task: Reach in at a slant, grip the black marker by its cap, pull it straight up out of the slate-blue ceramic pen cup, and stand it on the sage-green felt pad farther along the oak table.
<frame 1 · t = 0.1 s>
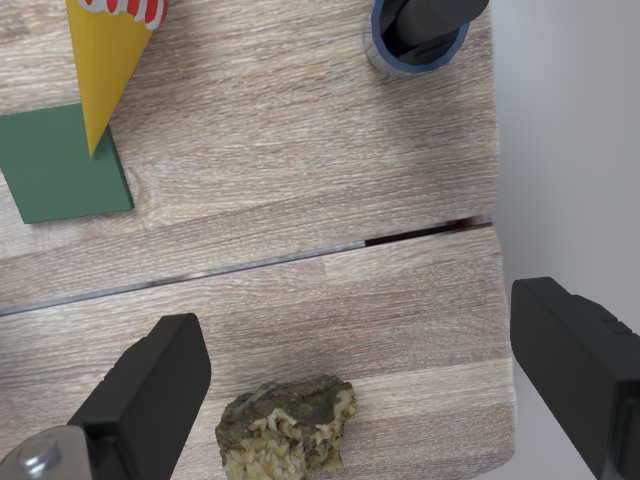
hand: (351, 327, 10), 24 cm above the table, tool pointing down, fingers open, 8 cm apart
mineral specimen: (294, 415, 42), on the table
pen cup: (401, 36, 29), on the table
marker: (402, 35, 29), point 1 cm above the table, touching pen cup
felt pad: (62, 164, 33), on the table
ice cream cone: (122, 38, 30), on the table, touching felt pad
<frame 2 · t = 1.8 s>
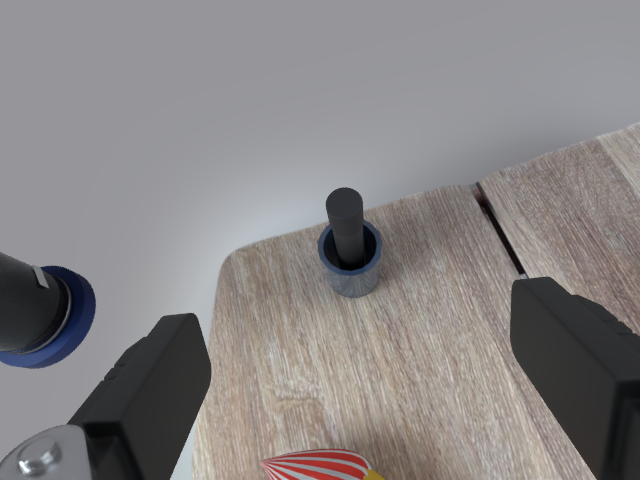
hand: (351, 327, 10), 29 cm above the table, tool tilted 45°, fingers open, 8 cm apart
pen cup: (353, 271, 41), on the table
marker: (353, 269, 40), point 1 cm above the table, touching pen cup
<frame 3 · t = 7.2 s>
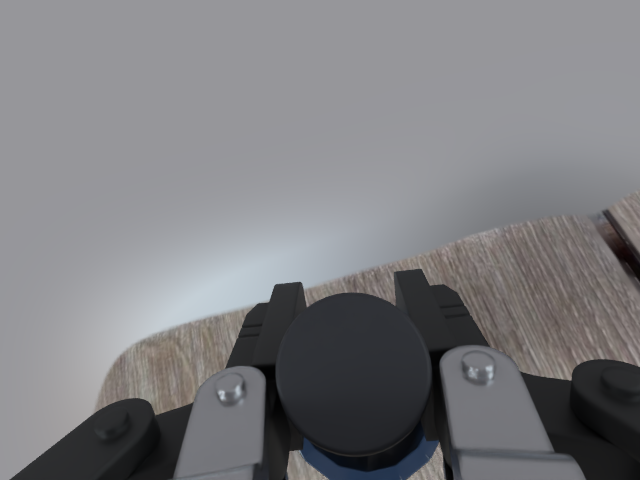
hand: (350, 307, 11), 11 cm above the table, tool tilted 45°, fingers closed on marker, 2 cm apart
pen cup: (366, 399, 20), on the table
marker: (365, 399, 19), point 1 cm above the table, touching gripper, pen cup
when the fingers open (11 cm above the table, at t = 18.4 s): marker stays where it is, resting on felt pad.
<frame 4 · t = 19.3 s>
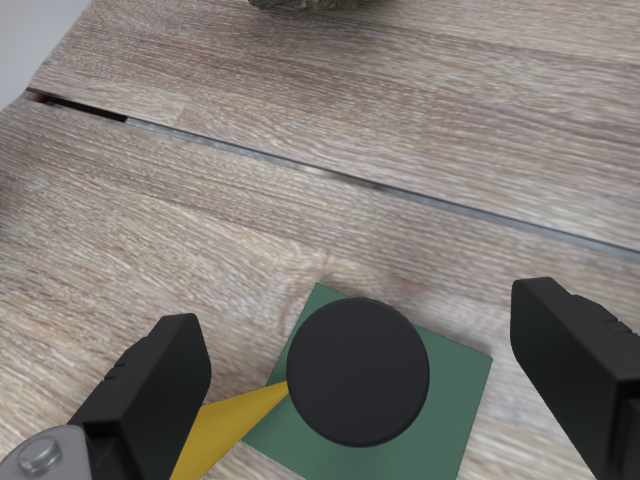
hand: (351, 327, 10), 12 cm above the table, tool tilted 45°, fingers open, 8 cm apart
marker: (367, 397, 20), point 1 cm above the table, touching felt pad
felt pad: (366, 399, 20), on the table
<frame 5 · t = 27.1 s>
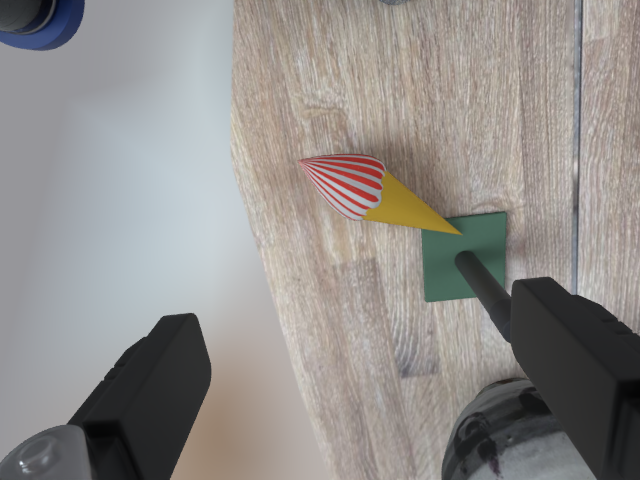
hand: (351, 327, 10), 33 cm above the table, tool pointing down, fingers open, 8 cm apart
marker: (465, 260, 44), point 1 cm above the table, touching felt pad
ceramic pot: (506, 403, 52), on the table
felt pad: (462, 257, 45), on the table
ice cream cone: (382, 197, 43), on the table, touching felt pad
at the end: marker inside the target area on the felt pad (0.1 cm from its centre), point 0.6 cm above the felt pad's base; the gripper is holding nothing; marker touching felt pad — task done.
